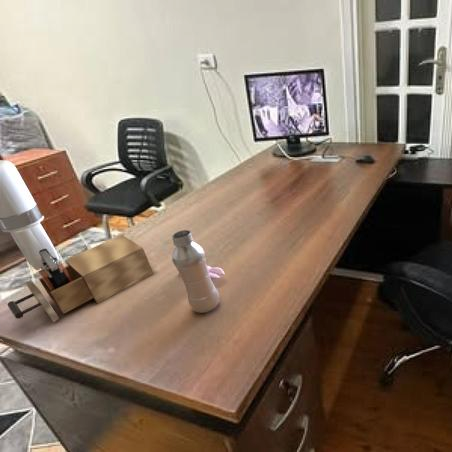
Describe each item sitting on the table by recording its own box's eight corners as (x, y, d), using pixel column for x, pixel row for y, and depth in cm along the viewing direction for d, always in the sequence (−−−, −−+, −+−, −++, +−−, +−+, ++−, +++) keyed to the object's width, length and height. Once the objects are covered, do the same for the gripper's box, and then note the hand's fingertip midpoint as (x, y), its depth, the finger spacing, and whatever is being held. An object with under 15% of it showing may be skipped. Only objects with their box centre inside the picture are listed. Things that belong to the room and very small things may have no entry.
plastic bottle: (223, 309, 81) (200, 236, 71) (193, 320, 79) (165, 246, 69) (218, 294, 86) (196, 223, 76) (190, 304, 84) (163, 232, 74)
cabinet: (97, 303, 87) (82, 276, 83) (79, 286, 94) (64, 260, 90) (153, 273, 97) (142, 247, 93) (133, 259, 104) (122, 234, 100)
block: (52, 292, 82) (43, 277, 80) (47, 285, 85) (38, 271, 83) (73, 282, 85) (65, 267, 83) (67, 276, 88) (59, 262, 86)
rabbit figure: (177, 283, 94) (215, 289, 86) (167, 264, 91) (206, 269, 84) (194, 270, 99) (232, 274, 91) (186, 252, 96) (224, 255, 89)
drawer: (28, 335, 78) (11, 312, 75) (15, 315, 84) (-1, 293, 81) (113, 290, 90) (102, 268, 87) (96, 275, 96) (85, 255, 93)
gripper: (-10, 216, 79) (31, 280, 88) (8, 235, 69) (53, 305, 78) (29, 203, 83) (65, 265, 92) (52, 219, 74) (89, 287, 83)
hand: (59, 283), depth 85 cm, fingers closed on block, 4 cm apart
